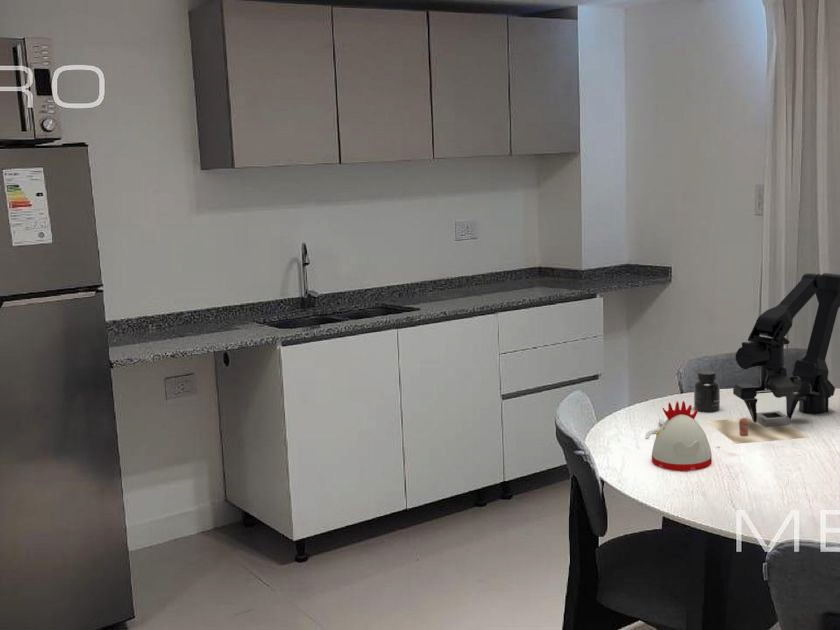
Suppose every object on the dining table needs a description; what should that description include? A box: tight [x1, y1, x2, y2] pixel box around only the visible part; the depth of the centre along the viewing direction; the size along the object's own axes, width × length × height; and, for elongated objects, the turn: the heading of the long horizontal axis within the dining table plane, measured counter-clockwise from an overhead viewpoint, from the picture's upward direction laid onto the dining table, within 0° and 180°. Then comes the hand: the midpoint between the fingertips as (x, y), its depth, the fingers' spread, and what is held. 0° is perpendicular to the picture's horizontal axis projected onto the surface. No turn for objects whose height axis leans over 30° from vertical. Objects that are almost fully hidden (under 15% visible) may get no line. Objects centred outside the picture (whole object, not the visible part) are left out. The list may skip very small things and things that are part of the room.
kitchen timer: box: [651, 400, 712, 472], centre depth 229 cm, size 14×14×15 cm
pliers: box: [644, 418, 665, 440], centre depth 254 cm, size 10×2×15 cm
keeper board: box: [705, 416, 810, 444], centre depth 246 cm, size 19×20×6 cm
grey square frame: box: [757, 410, 791, 427], centre depth 250 cm, size 6×6×2 cm
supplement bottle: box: [693, 370, 721, 414], centre depth 266 cm, size 7×7×12 cm
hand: (772, 420), depth 250 cm, fingers open, 9 cm apart
